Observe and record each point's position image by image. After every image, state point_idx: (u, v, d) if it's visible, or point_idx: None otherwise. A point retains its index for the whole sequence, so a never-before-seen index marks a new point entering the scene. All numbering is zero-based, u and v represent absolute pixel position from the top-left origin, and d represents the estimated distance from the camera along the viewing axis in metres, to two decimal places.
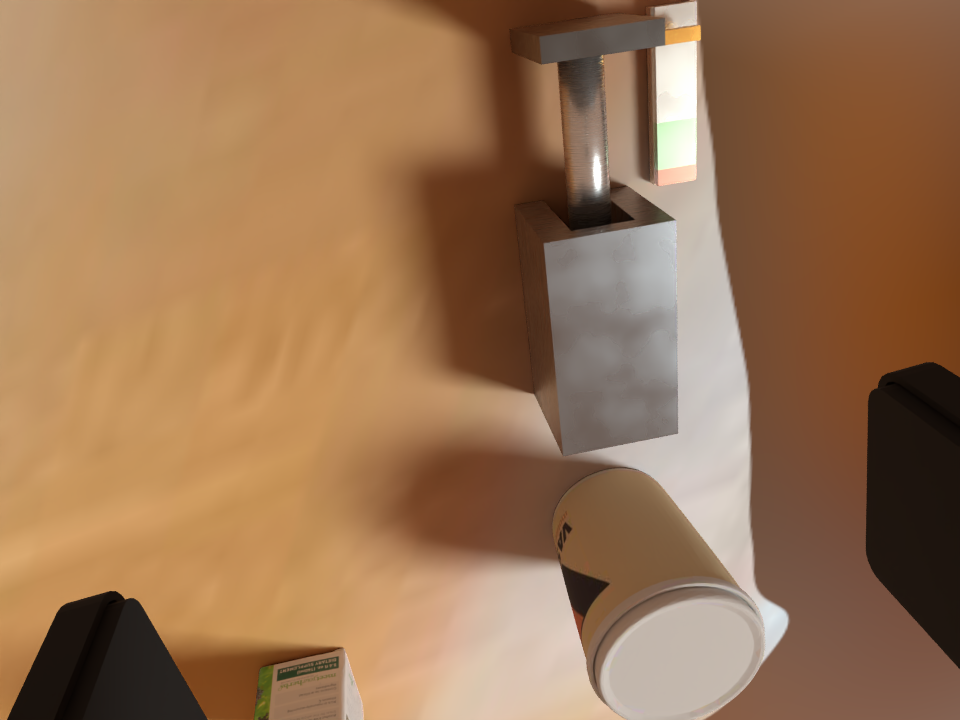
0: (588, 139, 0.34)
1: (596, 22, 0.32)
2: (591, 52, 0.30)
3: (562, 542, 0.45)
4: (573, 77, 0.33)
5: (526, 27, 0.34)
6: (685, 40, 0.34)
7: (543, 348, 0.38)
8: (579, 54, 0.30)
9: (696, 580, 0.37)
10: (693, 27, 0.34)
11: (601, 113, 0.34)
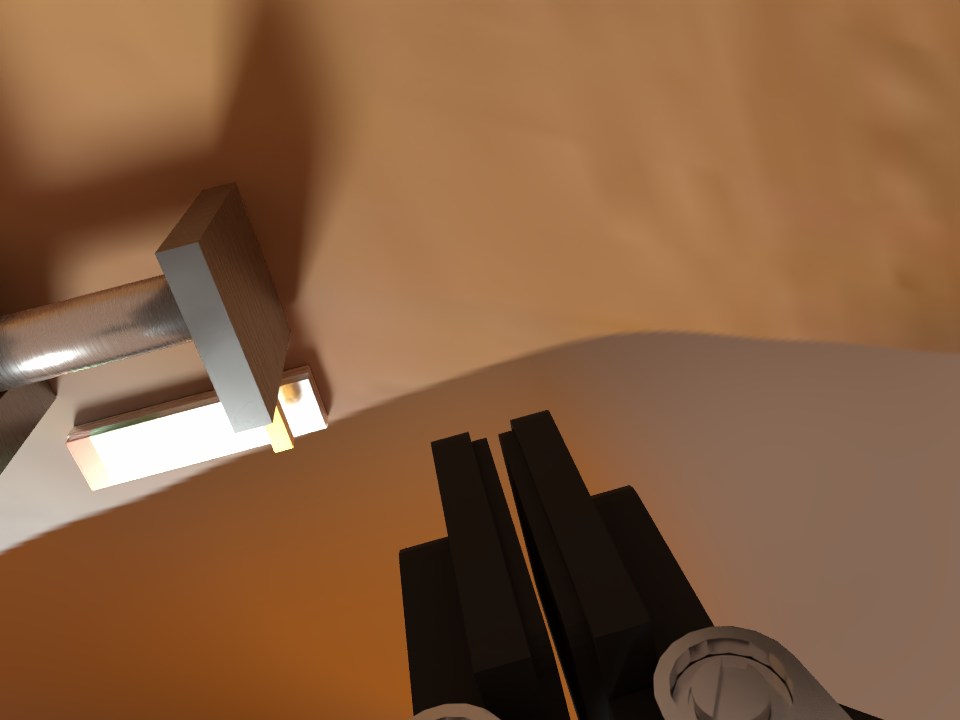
0: (78, 340, 0.21)
1: (257, 317, 0.21)
2: (195, 329, 0.18)
3: None
4: (170, 298, 0.21)
5: (240, 208, 0.22)
6: (269, 434, 0.25)
7: None
8: (187, 311, 0.18)
9: None
10: (288, 439, 0.25)
11: (126, 351, 0.21)
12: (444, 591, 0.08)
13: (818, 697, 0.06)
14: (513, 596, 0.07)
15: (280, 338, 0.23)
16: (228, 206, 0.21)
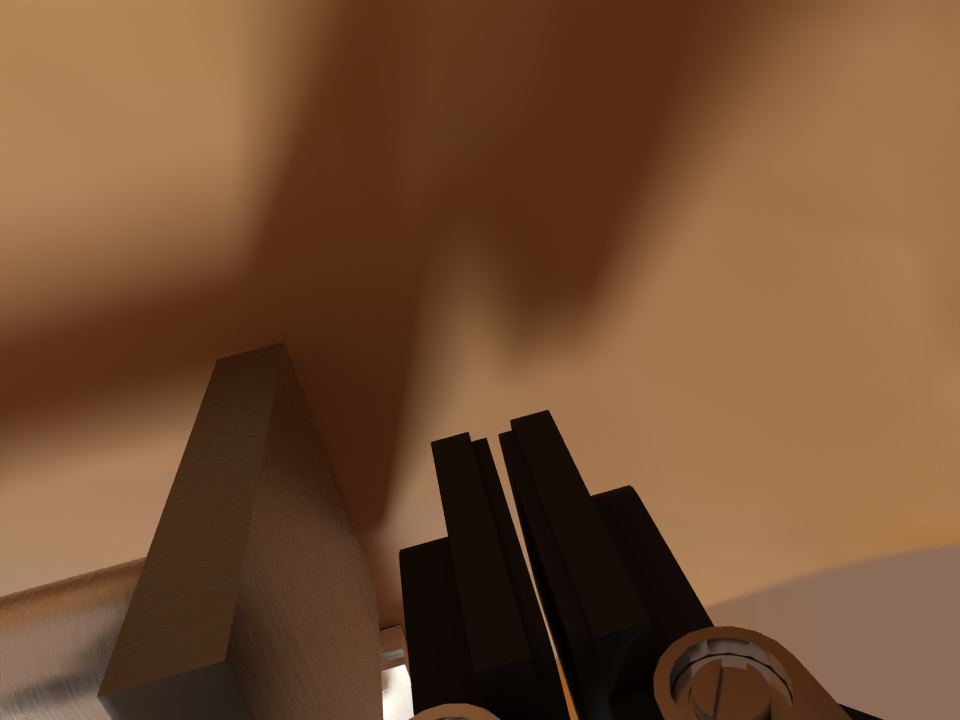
0: None
1: (342, 668, 0.10)
2: None
3: None
4: None
5: (295, 400, 0.11)
6: None
7: None
8: None
9: None
10: None
11: None
12: (444, 591, 0.08)
13: (818, 696, 0.06)
14: (513, 596, 0.07)
15: (371, 644, 0.12)
16: (278, 421, 0.10)
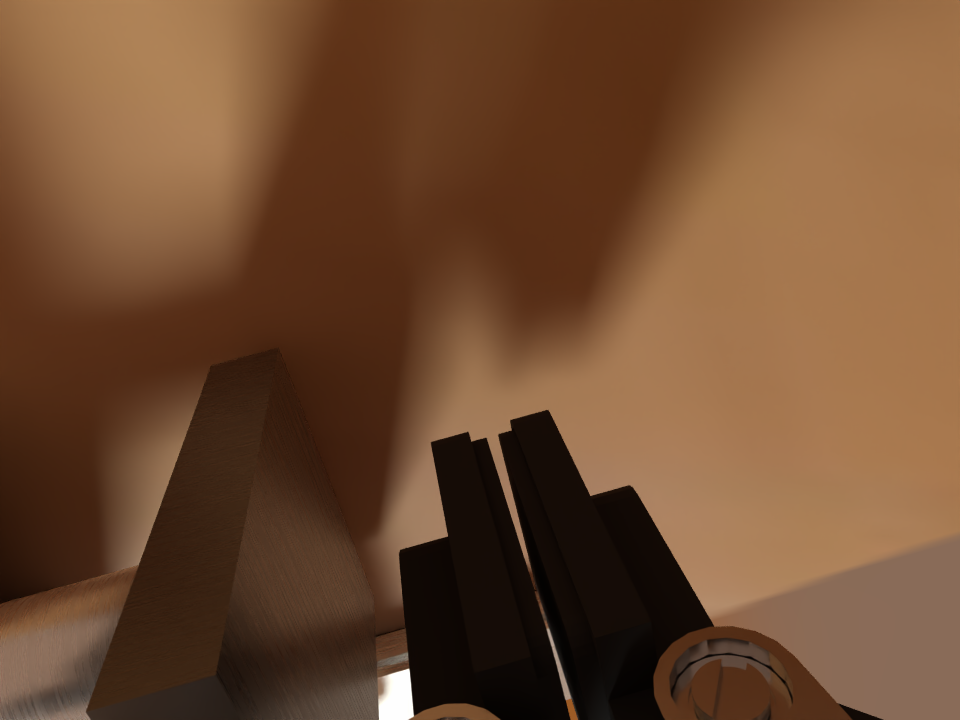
0: None
1: (337, 678, 0.09)
2: None
3: None
4: None
5: (289, 406, 0.11)
6: None
7: None
8: None
9: None
10: None
11: None
12: (444, 591, 0.08)
13: (818, 697, 0.06)
14: (513, 596, 0.07)
15: (367, 652, 0.12)
16: (272, 428, 0.10)
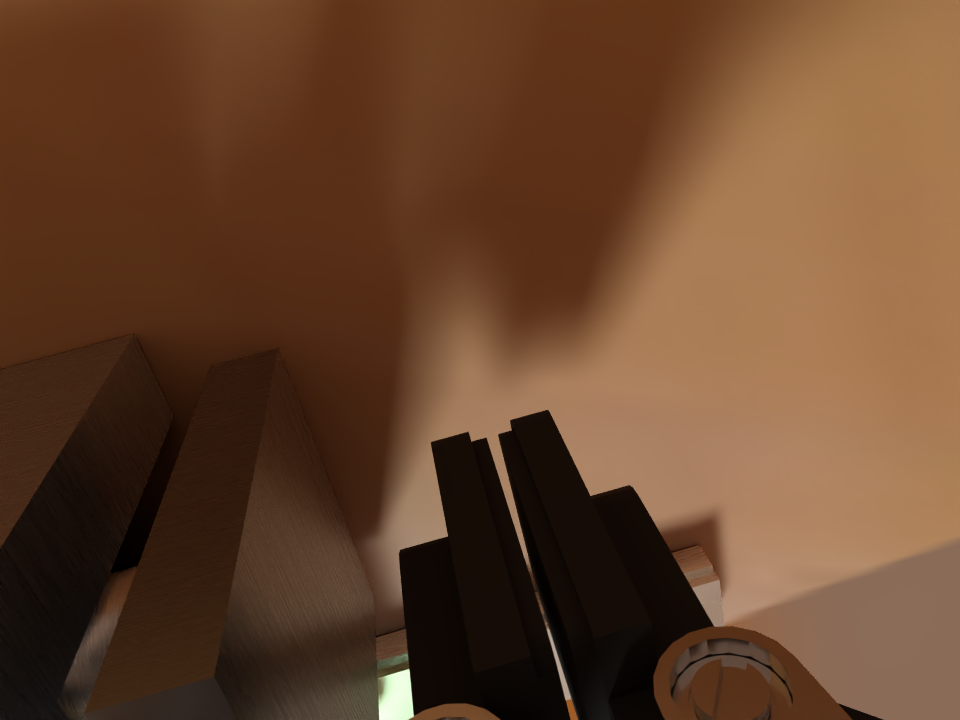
0: None
1: (337, 678, 0.09)
2: None
3: None
4: None
5: (289, 407, 0.11)
6: None
7: None
8: None
9: None
10: None
11: None
12: (443, 590, 0.08)
13: (818, 697, 0.06)
14: (513, 596, 0.07)
15: (367, 652, 0.12)
16: (271, 428, 0.10)
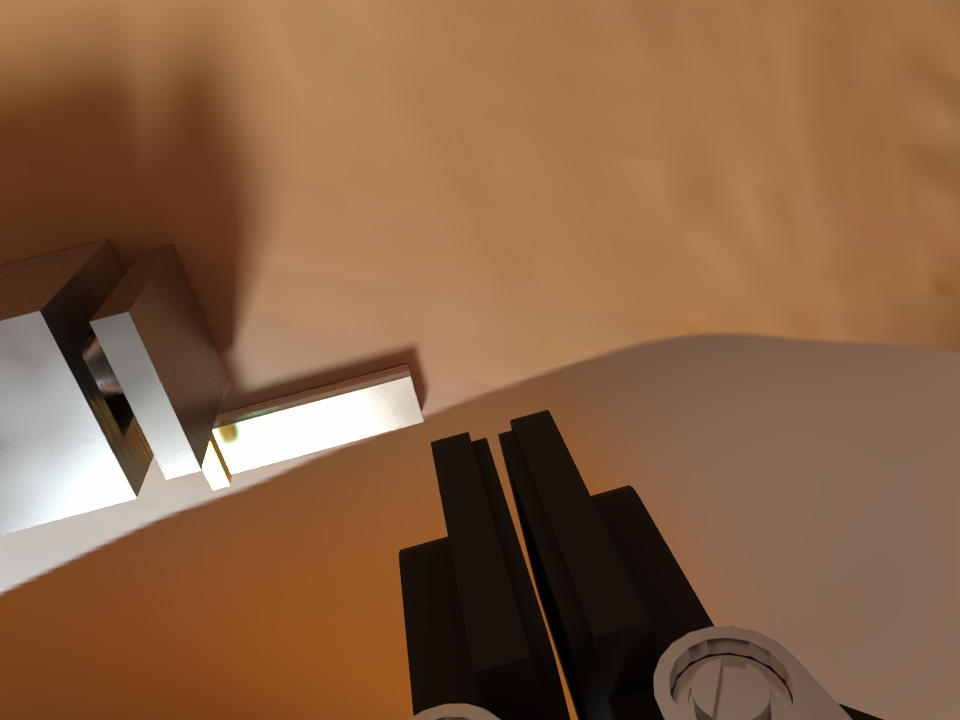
0: None
1: (190, 370, 0.23)
2: (128, 387, 0.20)
3: None
4: None
5: (177, 268, 0.24)
6: (207, 473, 0.27)
7: None
8: (120, 372, 0.20)
9: None
10: (225, 478, 0.27)
11: None
12: (444, 590, 0.08)
13: (818, 697, 0.06)
14: (513, 596, 0.07)
15: (215, 386, 0.25)
16: (164, 269, 0.23)
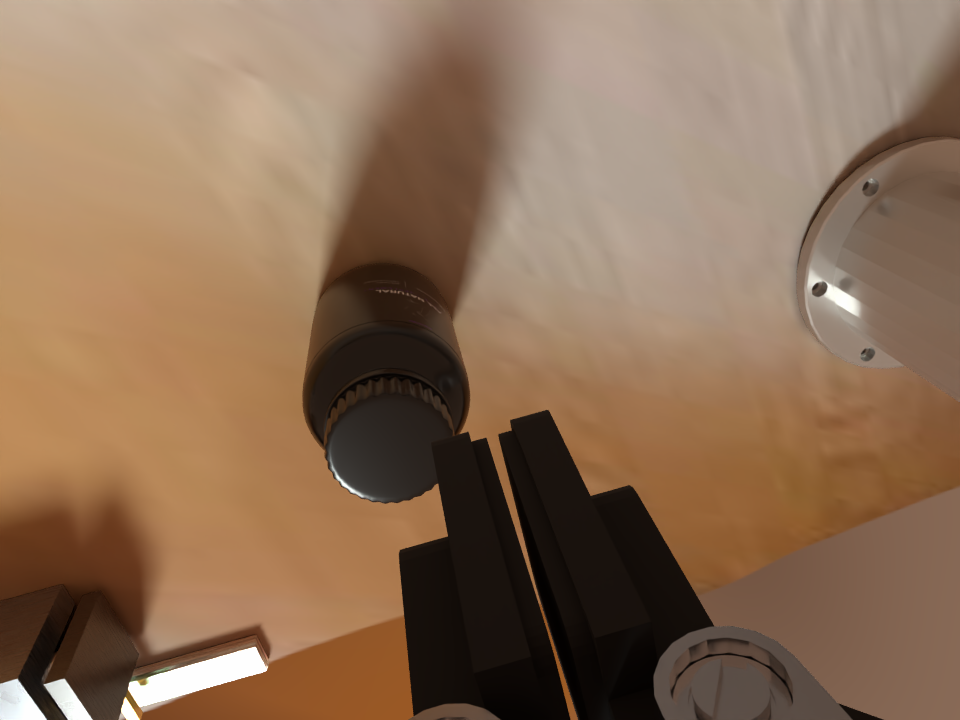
0: None
1: (107, 678, 0.40)
2: (66, 711, 0.37)
3: None
4: None
5: (102, 607, 0.41)
6: (126, 715, 0.43)
7: None
8: (61, 705, 0.37)
9: None
10: (137, 717, 0.44)
11: None
12: (443, 591, 0.08)
13: (818, 697, 0.06)
14: (513, 596, 0.07)
15: (127, 671, 0.42)
16: (92, 619, 0.40)
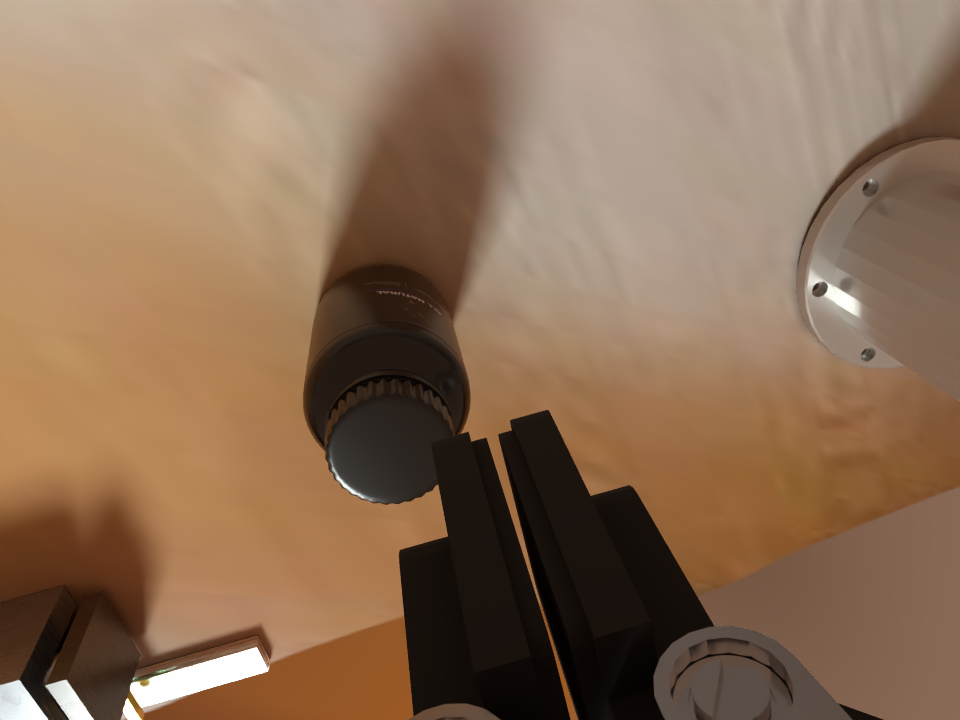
0: None
1: (108, 679, 0.40)
2: (68, 712, 0.37)
3: None
4: None
5: (104, 608, 0.41)
6: (127, 716, 0.43)
7: None
8: (63, 705, 0.37)
9: None
10: (139, 718, 0.44)
11: None
12: (444, 590, 0.08)
13: (818, 697, 0.06)
14: (513, 596, 0.07)
15: (129, 672, 0.42)
16: (93, 620, 0.40)
